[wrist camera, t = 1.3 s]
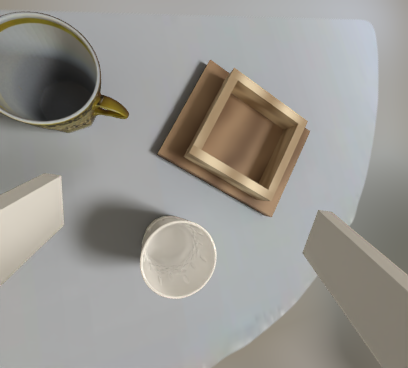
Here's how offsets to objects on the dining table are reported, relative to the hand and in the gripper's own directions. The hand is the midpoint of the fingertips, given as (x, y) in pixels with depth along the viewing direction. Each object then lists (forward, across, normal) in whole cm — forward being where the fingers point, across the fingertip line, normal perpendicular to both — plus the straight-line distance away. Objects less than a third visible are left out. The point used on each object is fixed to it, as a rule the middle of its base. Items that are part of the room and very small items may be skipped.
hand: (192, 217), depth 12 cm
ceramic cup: (+22, -15, +2) cm, 26 cm away
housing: (+26, +7, 0) cm, 26 cm away
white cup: (+18, -2, -14) cm, 23 cm away
